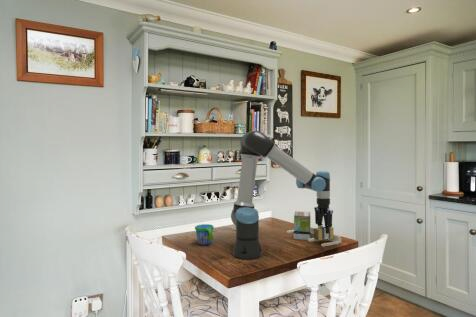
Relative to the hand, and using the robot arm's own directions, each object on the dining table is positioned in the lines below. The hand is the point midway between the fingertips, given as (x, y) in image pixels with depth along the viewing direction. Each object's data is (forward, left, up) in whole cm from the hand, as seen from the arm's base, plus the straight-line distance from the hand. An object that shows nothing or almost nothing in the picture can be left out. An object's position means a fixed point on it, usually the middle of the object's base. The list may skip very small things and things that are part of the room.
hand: (323, 237), depth 184 cm
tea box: (-3, +16, -3) cm, 17 cm away
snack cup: (-62, +31, -3) cm, 70 cm away
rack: (0, +11, -3) cm, 11 cm away
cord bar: (0, 0, 0) cm, 0 cm away
